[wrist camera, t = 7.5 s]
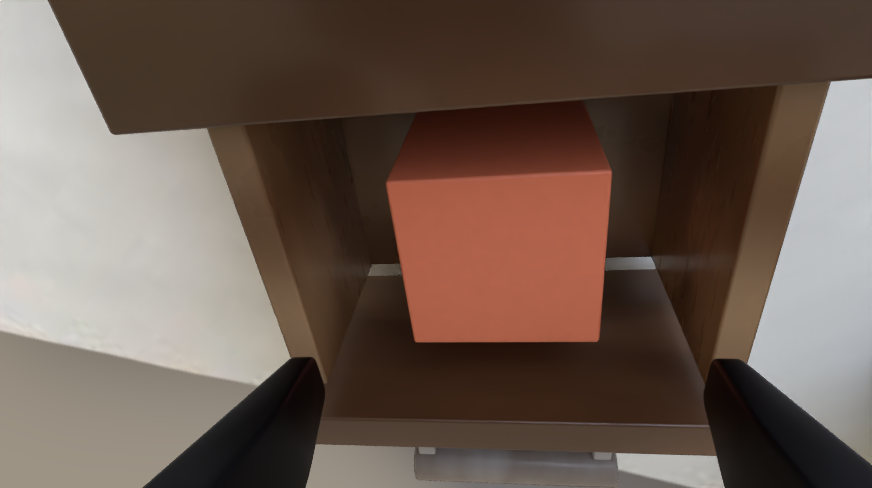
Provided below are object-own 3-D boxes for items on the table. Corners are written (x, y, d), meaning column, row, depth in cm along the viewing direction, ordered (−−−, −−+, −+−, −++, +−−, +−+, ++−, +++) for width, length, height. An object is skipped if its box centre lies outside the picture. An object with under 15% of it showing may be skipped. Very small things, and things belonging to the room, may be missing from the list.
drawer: (660, 387, 21) (715, 556, 16) (376, 384, 23) (335, 534, 18) (750, -120, 12) (958, -143, 6) (265, -55, 14) (106, -30, 8)
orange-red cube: (576, 234, 17) (599, 343, 12) (436, 239, 17) (414, 344, 13) (582, 93, 14) (613, 170, 10) (418, 105, 15) (383, 182, 11)
